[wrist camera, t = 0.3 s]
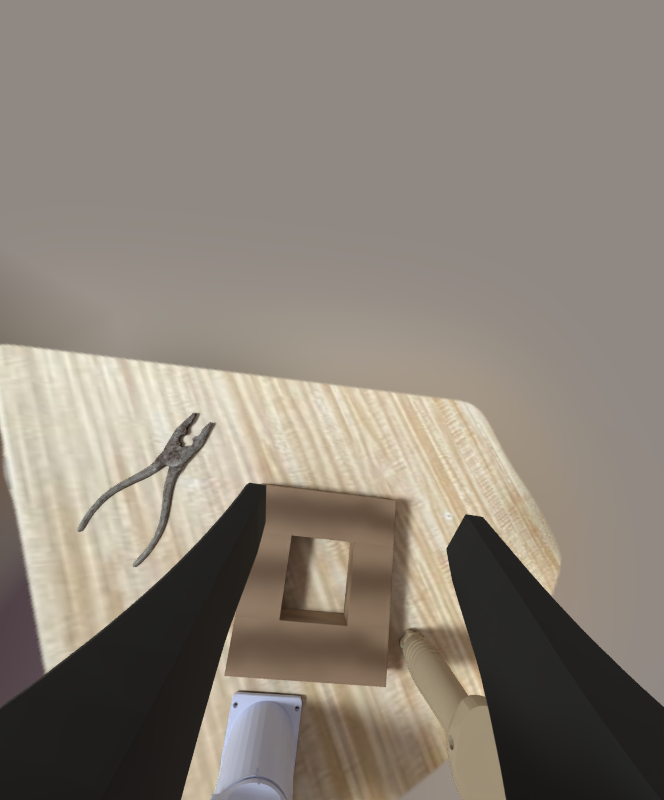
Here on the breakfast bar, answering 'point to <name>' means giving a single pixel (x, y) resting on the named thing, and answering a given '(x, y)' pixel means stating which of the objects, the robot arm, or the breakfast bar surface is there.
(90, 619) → the breakfast bar surface
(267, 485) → the socket plate
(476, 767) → the handle
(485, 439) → the breakfast bar surface
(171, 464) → the pliers
